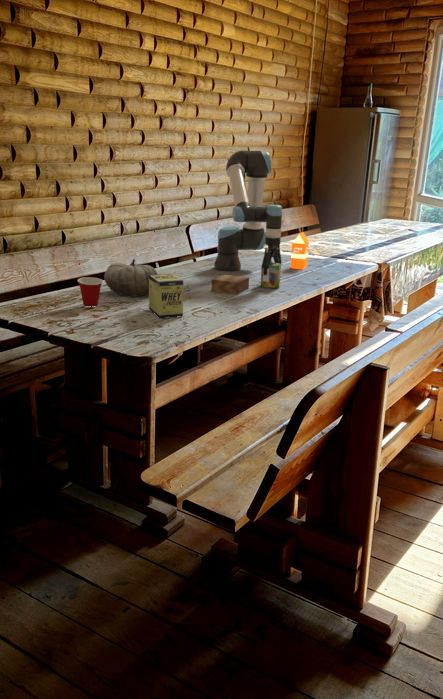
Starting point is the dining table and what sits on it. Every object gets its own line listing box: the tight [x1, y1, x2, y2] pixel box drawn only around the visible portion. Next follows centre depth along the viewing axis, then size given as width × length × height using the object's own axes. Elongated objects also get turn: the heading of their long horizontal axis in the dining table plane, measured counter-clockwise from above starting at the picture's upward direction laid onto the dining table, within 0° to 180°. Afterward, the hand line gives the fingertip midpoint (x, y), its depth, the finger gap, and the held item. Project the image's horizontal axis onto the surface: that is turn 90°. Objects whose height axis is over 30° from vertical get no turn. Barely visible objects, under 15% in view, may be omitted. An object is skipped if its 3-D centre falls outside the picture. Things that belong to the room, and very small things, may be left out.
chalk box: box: [260, 259, 282, 289], centre depth 341 cm, size 9×9×15 cm
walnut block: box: [211, 273, 250, 295], centre depth 333 cm, size 14×14×6 cm
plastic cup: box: [77, 276, 104, 307], centre depth 294 cm, size 11×11×12 cm
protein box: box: [148, 273, 184, 319], centre depth 286 cm, size 10×16×16 cm
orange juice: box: [290, 231, 310, 270], centre depth 390 cm, size 8×9×20 cm
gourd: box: [103, 258, 158, 297], centre depth 318 cm, size 25×25×17 cm
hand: (270, 279), depth 342 cm, fingers open, 13 cm apart
